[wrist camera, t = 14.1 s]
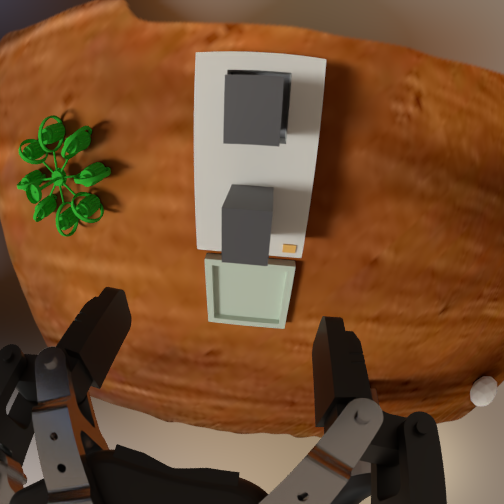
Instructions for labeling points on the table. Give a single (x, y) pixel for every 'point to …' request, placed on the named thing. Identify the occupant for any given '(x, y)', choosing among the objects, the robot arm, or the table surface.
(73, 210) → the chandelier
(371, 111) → the table surface
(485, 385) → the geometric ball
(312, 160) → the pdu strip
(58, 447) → the robot arm
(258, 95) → the grey rectangular prism
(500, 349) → the table surface
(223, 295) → the sage tray
